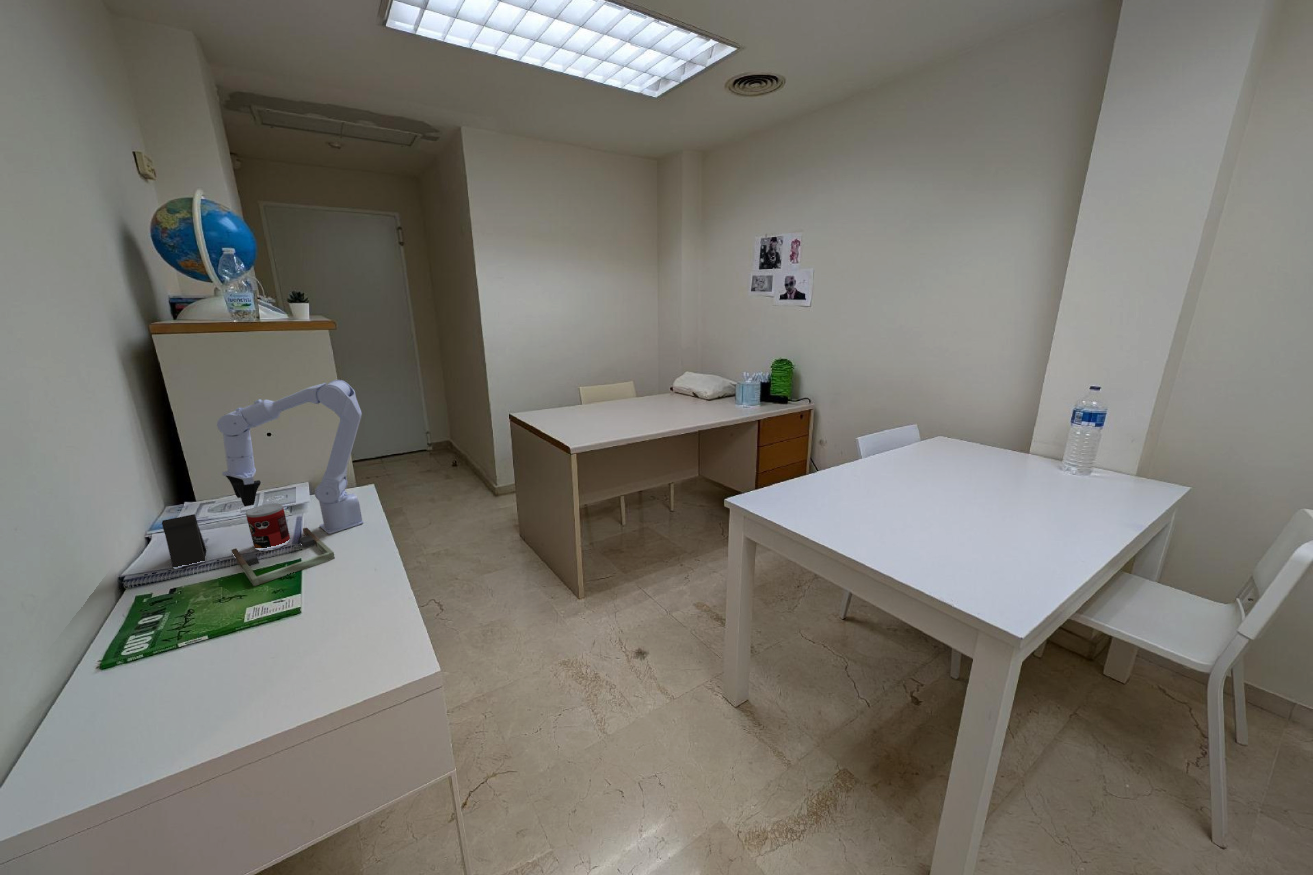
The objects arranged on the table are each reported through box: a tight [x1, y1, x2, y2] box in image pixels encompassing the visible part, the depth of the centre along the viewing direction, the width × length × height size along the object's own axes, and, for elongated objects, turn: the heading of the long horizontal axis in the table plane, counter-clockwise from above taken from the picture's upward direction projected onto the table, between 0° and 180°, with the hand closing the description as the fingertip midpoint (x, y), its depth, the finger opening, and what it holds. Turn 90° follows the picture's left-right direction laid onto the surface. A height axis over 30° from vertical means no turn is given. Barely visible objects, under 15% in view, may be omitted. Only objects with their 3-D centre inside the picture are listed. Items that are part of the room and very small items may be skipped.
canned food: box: [245, 502, 291, 549], centre depth 132 cm, size 8×8×11 cm
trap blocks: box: [241, 535, 316, 567], centre depth 129 cm, size 15×4×2 cm, turn 141°
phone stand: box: [161, 513, 207, 568], centre depth 124 cm, size 9×6×12 cm, turn 40°
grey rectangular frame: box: [231, 527, 336, 587], centre depth 127 cm, size 17×22×2 cm
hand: (245, 501), depth 134 cm, fingers open, 7 cm apart
